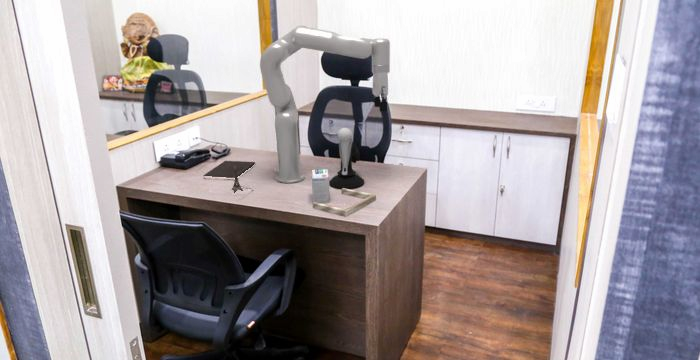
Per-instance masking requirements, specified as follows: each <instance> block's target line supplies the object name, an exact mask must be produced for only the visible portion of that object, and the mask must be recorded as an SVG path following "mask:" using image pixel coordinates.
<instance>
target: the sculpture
mask: <svg viewBox="0 0 700 360" xmlns="http://www.w3.org/2000/svg"><path fill="white" fill-rule="evenodd" d="M337 137H338V138H337V139H338V141H339V142H338V148H339V149H338V151H339V153H338V154H339V157H340V158H339V159H340V170H338V171H337V175H335V176H333V177H332V178H331V179H329V187H331V188H333V189H336V190H341V189H342V188H346V189H350V190H357V189H359V188H362V187H363V186H364V185H365V180H364V179H363V178H362V177H361V175H358V174H356V173H357V172H356V170H354V169H353V164H356V163H357V162H360V158H361V157H360V154H361V153H360V149H359V148H357V144H356V143H355V142H354V141H353V132H352V130H351V129H350V128H348V127H342V128H341V129H339V130H338V131H337Z"/></svg>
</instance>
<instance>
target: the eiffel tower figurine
mask: <svg viewBox="0 0 700 360" xmlns="http://www.w3.org/2000/svg"><path fill="white" fill-rule="evenodd" d="M234 165H235V164H234ZM234 170H235V180H233V181H234V182H233V183H234V184H233V185H232V188H231V190H233V191H234V193H235V192H236V191H237V190H241V191H243V189H244V188H241V187H242V186H241V185H240V182H239V179H238V178H237V174H236V167H235V166H234Z"/></svg>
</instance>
